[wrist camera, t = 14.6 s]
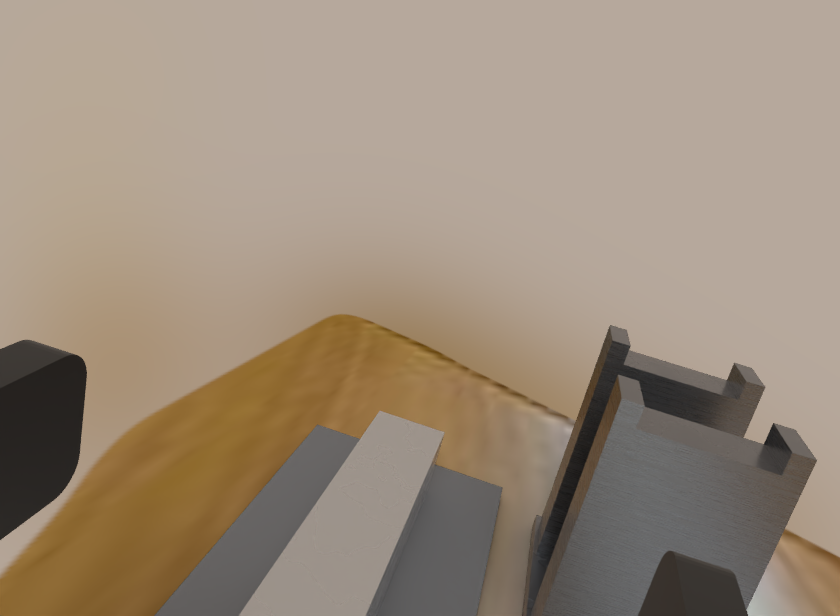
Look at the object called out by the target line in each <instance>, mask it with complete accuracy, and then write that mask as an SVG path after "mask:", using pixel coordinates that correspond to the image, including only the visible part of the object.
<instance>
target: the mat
mask: <svg viewBox="0 0 840 616" xmlns="http://www.w3.org/2000/svg"><path fill="white" fill-rule="evenodd" d="M359 440H360V439H358V438H355V437H352V436H349V435H346V434H343V433H340V432H338V431H335V430H332V429H329V428H326V427H323V426H320V425H317V426H316V427H315V428H314V429H313V431H312V432H311V433H310V434H309V435H308V436H307V438H306V439H305V440H304V441H303V442H302V443H301V445H300V446H299V447H298V448H297V449H296V450H295V452H294V453H293V454H292V455H291V456H290V457H289V459H288V460H287V461H286V462H285V463H284V465H283V466H282V467H281V468H280V469H279V470H278V472H277V473H276V474H275V475H274V476H273V477H272V479H271V480H270V481H269V482H268V483H267V484H266V486H265V487H264V488H263V489H262V490H261V491H260V493H259V494H258V495H257V496H256V497H255V498H254V500H253V501H252V502H251V503H250V504H249V505H248V507H247V508H246V509H245V510H244V511H243V513H242V514H241V515H240V516H239V517H238V518H237V520H236V521H235V522H234V523H233V524H232V525H231V527H230V528H229V529H228V530H227V531H226V532H225V534H224V535H223V536H222V537H221V538H220V539H219V541H218V542H217V543H216V544H215V545H214V546H213V548H212V549H211V550H210V551H209V552H208V553H207V555H206V556H205V557H204V558H203V559H202V560H201V562H200V563H199V564H198V565H197V566H196V568H195V569H194V570H193V571H192V572H191V573H190V575H189V576H188V577H187V578H186V579H185V580H184V582H183V583H182V584H181V585H180V586H179V587H178V589H177V590H176V591H175V592H174V593H173V594H172V596H171V597H170V598H169V599H168V600H167V601H166V603H165V604H164V605H163V606H162V607H161V608H160V610H159V611H158V612H157V613H156V614H155V615H154V616H239V614H240V613H241V612H242V610H243V609H244V607H245V606H246V604H247V603H248V601H249V600H250V598H251V597H252V596H253V594H254V593H255V591H256V590H257V588H258V587H259V585H260V584H261V582H262V581H263V580H264V578H265V577H266V575H267V574H268V572H269V571H270V569H271V568H272V567H273V565H274V564H275V562H276V561H277V559H278V558H279V556H280V555H281V553H282V552H283V551H284V549H285V548H286V546H287V545H288V543H289V542H290V540H291V539H292V537H293V536H294V535H295V533H296V532H297V530H298V529H299V527H300V526H301V524H302V523H303V521H304V520H305V519H306V517H307V516H308V514H309V513H310V511H311V510H312V508H313V507H314V506H315V504H316V503H317V501H318V500H319V498H320V497H321V495H322V494H323V492H324V491H325V490H326V488H327V487H328V485H329V484H330V482H331V481H332V479H333V478H334V476H335V475H336V474H337V472H338V471H339V469H340V468H341V466H342V465H343V463H344V462H345V460H346V459H347V458H348V456H349V455H350V453H351V452H352V450H353V449H354V447H355V446H356V445H357V443H358V442H359ZM501 492H502V487H499V486H496V485H493V484H490V483H487V482H485V481H482V480H479V479H476V478H473V477H470V476H467V475H464V474H461V473H458V472H455V471H452V470H449V469H446V468H443V467H440V466H437V465H435V467H434V470H433V474H432V477H431V480H430V484H429V487H428V491H427V493H426V496H425V498H424V501H423V503H422V505H421V508H420V510H419V513H418V515H417V518H416V520H415V522H414V525H413V527H412V530H411V532H410V535H409V537H408V540H407V542H406V544H405V547H404V549H403V552H402V554H401V557H400V559H399V561H398V564H397V566H396V569H395V571H394V574H393V576H392V579H391V581H390V583H389V586H388V588H387V591H386V593H385V596H384V598H383V600H382V603H381V605H380V608H379V610H378V613H377V615H376V616H476V615H477V610H478V605H479V600H480V595H481V590H482V585H483V581H484V576H485V571H486V566H487V561H488V556H489V551H490V546H491V541H492V536H493V531H494V527H495V522H496V517H497V512H498V507H499V502H500V497H501Z"/></svg>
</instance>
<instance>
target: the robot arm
mask: <svg viewBox="0 0 840 616" xmlns="http://www.w3.org/2000/svg"><path fill="white" fill-rule="evenodd" d="M86 378H87V371H86V365H85V363H84V361H83V359H82V358H81V357H79V356H78V355H75V354H71V353H68V352H66V351H62V350H59V349H56V348H53V347H50V346H47V345H44V344H41V343H37V342H35V341H31V340H22V341H19V342H17V343H14V344H12V345H9V346H7V347H5V348H2V349H0V540H1V539H2V538H4V537H5V536H6V535H8V534H9V533H10V532H12V531H13V530H14V529H16V528H17V527H18V526H20V525H21V524H22V523H24V522H25V521H26V520H28V519H29V518H30V517H32V516H33V515H34V514H36V513H37V512H39V511H40V510H41V509H42V508H44V507H45V506H46V505H48V504H49V503H50V502H52V501H53V500H54V499H56V498H57V497H58V496H59V495H60V493H62V491H63V490H64V489H65V488H66V486H67V485H68V483H69V482H70V480H71V478H72V476H73V474H74V472H75V469H76V467H77V464H78V460H79V454H80V444H81V432H82V421H83V410H84V400H85V389H86ZM638 616H748V614H747V611H746V607H745V604H744V601H743V598H742V595H741V591H740V588H739V585H738V582H737V579H736V576H735V574H734V573H733V571H731V570H729V569H726V568H723V567H720V566H717V565H714V564H710V563H707V562H704V561H701V560H698V559H695V558H692V557H689V556H686V555H683V554H680V553H677V552H674V551H668V552H666V553H665V554H664V556H663V557H662V559H661V561H660V562H659V565H658V567H657V569H656V572H655V574H654V577H653V579H652V582H651V584H650V587H649V589H648V592H647V594H646V597H645V599H644V602H643V604H642V607H641V609H640V612H639V614H638Z"/></svg>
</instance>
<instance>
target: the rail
mask: <svg viewBox="0 0 840 616" xmlns="http://www.w3.org/2000/svg"><path fill="white" fill-rule="evenodd" d="M444 433H445V432H442V431H439V430H436V429H433V428H430V427H427V426H424V425H421V424H418V423H415V422H412V421H409V420H406V419H403V418H400V417H397V416H394V415H391V414H388V413H385V412H382V411H379V413H378V414H377V415H376V417H375V418H374V420H373V421H372V423H371V424H370V426H369V427H368V429H367V430H366V431H365V433H364V434H363V436H362V437H361V439H360V440H359V442H358V443H357V445H356V446H355V447H354V449H353V450H352V452H351V453H350V455H349V456H348V458H347V459H346V460H345V462H344V463H343V465H342V466H341V468H340V469H339V471H338V472H337V474H336V475H335V476H334V478H333V479H332V481H331V482H330V484H329V485H328V487H327V488H326V490H325V491H324V492H323V494H322V495H321V497H320V498H319V500H318V501H317V503H316V504H315V506H314V507H313V508H312V510H311V511H310V513H309V514H308V516H307V517H306V519H305V520H304V521H303V523H302V524H301V526H300V527H299V529H298V530H297V532H296V533H295V535H294V536H293V537H292V539H291V540H290V542H289V543H288V545H287V546H286V548H285V549H284V551H283V552H282V553H281V555H280V556H279V558H278V559H277V561H276V562H275V564H274V565H273V567H272V568H271V569H270V571H269V572H268V574H267V575H266V577H265V578H264V580H263V581H262V582H261V584H260V585H259V587H258V588H257V590H256V591H255V593H254V594H253V596H252V597H251V598H250V600H249V601H248V603H247V604H246V606H245V607H244V609H243V610H242V612H241V613H240V614H239V616H376V615H377V613H378V610H379V608H380V605H381V603H382V600H383V598H384V596H385V593H386V591H387V588H388V586H389V583H390V581H391V579H392V576H393V574H394V571H395V569H396V566H397V564H398V561H399V559H400V557H401V554H402V552H403V549H404V547H405V544H406V542H407V540H408V537H409V535H410V532H411V530H412V527H413V525H414V522H415V520H416V518H417V515H418V513H419V510H420V508H421V505H422V503H423V501H424V498H425V496H426V493H427V491H428V487H429V484H430V480H431V477H432V474H433V470H434V467H435V463H436V460H437V457H438V453H439V450H440V447H441V443H442V440H443V436H444Z"/></svg>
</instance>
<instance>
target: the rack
mask: <svg viewBox="0 0 840 616" xmlns="http://www.w3.org/2000/svg"><path fill="white" fill-rule="evenodd" d="M629 348H630V342H629V337H628V333H627V330H625V329H621V328H618V327H615V326H612V325H610V327H609V329H608V332H607V335H606V338H605V340H604V343H603V346H602V349H601V352H600V355H599V357H598V360H597V363H596V366H595V369H594V372H593V374H592V377H591V380H590V383H589V386H588V389H587V392H586V394H585V397H584V400H583V403H582V406H581V408H580V411H579V414H578V417H577V420H576V422H575V425H574V428H573V431H572V434H571V437H570V439H569V442H568V445H567V448H566V451H565V454H564V456H563V459H562V462H561V465H560V468H559V470H558V473H557V476H556V479H555V482H554V485H553V487H552V490H551V493H550V496H549V499H548V502H547V504H546V507H545V510H544V513H543V516H542V517H541V516H538V515H536V518H535V521H534V524H533V527H532V534H531V543H530V552H529V561H528V570H527V579H526V588H525V597H524V606H523V615H522V616H638V614H639V612H640V609H641V607H642V604H643V602H644V599H645V597H646V594H647V592H648V589H649V587H650V584H651V582H652V579H653V577H654V574H655V572H656V569H657V567H658V565H659V562H660V561H661V559H662V557H663V556H664V554H665V553H666V552H668V551H674V552H677V553H680V554H683V555H686V556H689V557H692V558H695V559H698V560H701V561H704V562H707V563H710V564H714V565H717V566H720V567H723V568H726V569H729V570H731V571H733V573H734V574H735V576H736V579H737V582H738V585H739V588H740V591H741V595H742V598H743V601H744V604H745V607H746V610H747V607H748V605H749V603H750V601H751V599H752V597H753V595H754V593H755V591H756V588H757V586H758V584H759V582H760V580H761V578H762V576H763V574H764V571H765V569H766V567H767V565H768V563H769V561H770V559H771V557H772V555H773V552H774V550H775V548H776V546H777V544H778V542H779V540H780V538H781V535H782V533H783V531H784V529H785V527H786V525H787V523H788V521H789V518H790V516H791V514H792V512H793V510H794V508H795V506H796V504H797V502H798V499H799V497H800V495H801V493H802V491H803V489H804V487H805V485H806V483H807V480H808V478H809V476H810V474H811V472H812V470H813V467H814V466H815V463H816V461H817V460H816V458H815V457H814V455H813V454H812V453H811V451H810V450H809V449H808V447H807V446H806V444H805V443H804V441H803V440H802V439H801V437H800V436H799V434H798V433H797V431H796V430H794V429H791V428H787V427H784V426H781V425H778V424H775V423H773V425H772V427H771V430H770V432H769V434H768V437H767V439H766V441H765V443H764V444H761V443H758V442H755V441H751V440H748V439H745V438H743V437H744V435H745V433H746V431H747V428H748V426H749V423H750V421H751V419H752V417H753V414H754V412H755V410H756V408H757V405H758V403H759V401H760V398H761V396H762V393H763V391H764V389H765V386H764V385H763V383H762V382H761V380H760V379H759V378H758V376H757V375H756V373H755V372H754V370H753V369H752V368H750V367H746V366H743V365H740V364H737V363H734V365H733V367H732V370H731V372H730V374H729V377H728V379H727V380H724V379H721V378H718V377H714V376H711V375H708V374H704V373H701V372H698V371H695V370H691V369H688V368H685V367H682V366H678V365H675V364H671V363H669V362H665V361H662V360H659V359H656V358H652V357H649V356H646V355H642V354H639V353H636V352H633V351H630V350H629Z"/></svg>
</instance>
